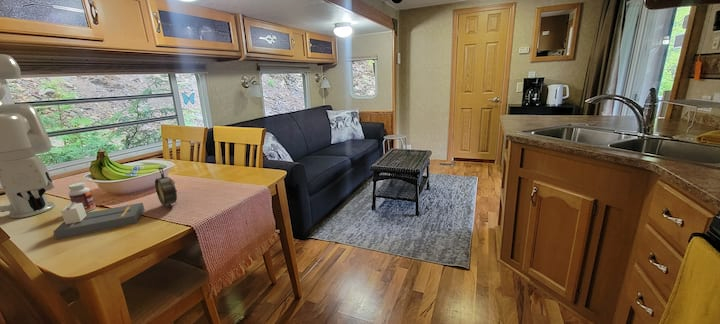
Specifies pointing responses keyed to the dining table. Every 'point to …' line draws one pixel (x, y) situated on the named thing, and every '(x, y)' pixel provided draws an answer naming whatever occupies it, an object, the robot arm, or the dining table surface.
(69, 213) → the fader knob
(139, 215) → the fader console
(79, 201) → the pill bottle
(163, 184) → the alarm clock
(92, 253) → the dining table surface
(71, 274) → the dining table surface
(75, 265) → the dining table surface
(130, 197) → the dining table surface
